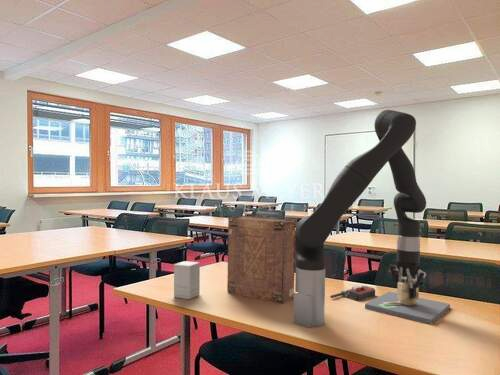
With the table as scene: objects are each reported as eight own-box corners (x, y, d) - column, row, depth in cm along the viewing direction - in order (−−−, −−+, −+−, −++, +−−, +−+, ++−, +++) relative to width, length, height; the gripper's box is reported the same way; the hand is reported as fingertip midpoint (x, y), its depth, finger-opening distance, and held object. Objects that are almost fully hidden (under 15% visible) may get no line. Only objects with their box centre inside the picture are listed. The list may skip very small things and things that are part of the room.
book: (226, 292, 150) (227, 217, 149) (239, 286, 157) (240, 215, 157) (282, 303, 136) (284, 221, 135) (294, 297, 143) (295, 219, 143)
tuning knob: (410, 299, 137) (410, 280, 137) (422, 304, 131) (422, 284, 131) (378, 302, 133) (378, 282, 133) (388, 307, 128) (389, 286, 127)
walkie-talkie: (359, 291, 155) (328, 299, 143) (359, 280, 155) (328, 288, 143) (378, 296, 148) (347, 305, 136) (378, 285, 148) (347, 293, 136)
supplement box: (200, 294, 145) (200, 262, 145) (189, 299, 139) (189, 266, 138) (184, 292, 148) (184, 260, 148) (173, 297, 142) (173, 263, 142)
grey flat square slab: (431, 324, 118) (431, 319, 118) (364, 308, 132) (365, 303, 132) (449, 308, 134) (450, 303, 134) (389, 295, 149) (389, 291, 149)
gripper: (433, 251, 129) (432, 300, 129) (397, 245, 141) (396, 290, 141) (420, 252, 125) (419, 304, 125) (384, 246, 137) (383, 293, 137)
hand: (407, 296), depth 133 cm, fingers closed on tuning knob, 3 cm apart
